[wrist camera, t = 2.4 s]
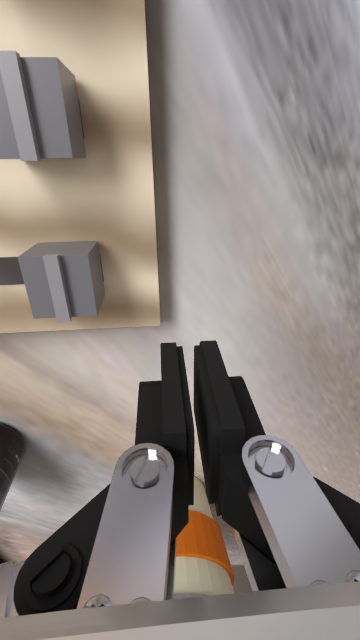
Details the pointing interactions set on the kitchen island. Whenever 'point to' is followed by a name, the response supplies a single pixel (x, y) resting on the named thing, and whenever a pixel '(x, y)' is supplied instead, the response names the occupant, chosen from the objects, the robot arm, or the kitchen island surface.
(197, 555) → the reusable coffee cup
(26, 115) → the switch tab
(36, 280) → the switch tab
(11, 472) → the supplement bottle
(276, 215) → the kitchen island surface
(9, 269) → the switch panel
